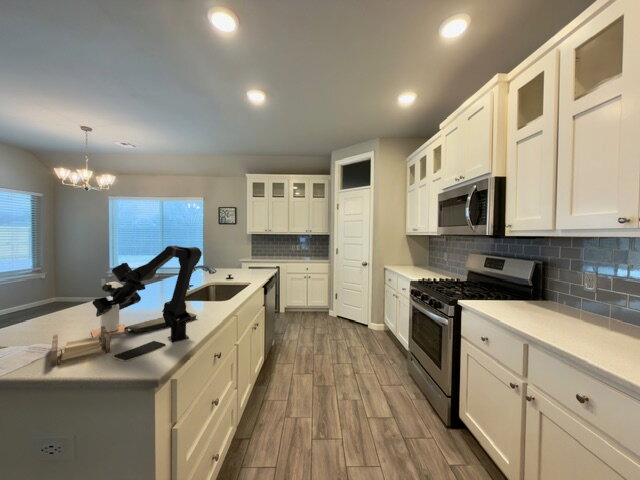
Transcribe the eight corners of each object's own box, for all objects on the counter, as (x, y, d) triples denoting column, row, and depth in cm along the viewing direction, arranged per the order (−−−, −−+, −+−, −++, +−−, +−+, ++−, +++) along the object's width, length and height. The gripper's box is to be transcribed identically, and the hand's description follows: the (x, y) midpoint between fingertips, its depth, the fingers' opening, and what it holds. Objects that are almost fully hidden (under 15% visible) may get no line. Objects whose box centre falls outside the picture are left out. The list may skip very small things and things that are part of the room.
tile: (128, 332, 116) (128, 330, 116) (93, 339, 108) (93, 337, 108) (124, 325, 125) (124, 324, 125) (91, 331, 116) (91, 330, 116)
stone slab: (123, 324, 118) (188, 309, 142) (123, 331, 118) (188, 314, 142) (132, 330, 112) (199, 312, 136) (132, 337, 112) (199, 319, 136)
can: (109, 327, 120) (110, 301, 120) (122, 328, 119) (123, 302, 119) (96, 332, 113) (96, 305, 113) (110, 333, 113) (110, 306, 113)
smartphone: (166, 343, 103) (125, 359, 89) (166, 346, 103) (125, 363, 89) (154, 340, 106) (112, 355, 92) (154, 343, 106) (112, 358, 92)
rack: (110, 352, 96) (110, 339, 96) (51, 366, 86) (51, 351, 85) (104, 337, 110) (104, 325, 110) (53, 348, 99) (53, 335, 99)
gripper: (135, 273, 125) (116, 295, 127) (96, 279, 106) (73, 304, 108) (150, 290, 123) (130, 312, 125) (112, 299, 105) (89, 325, 107)
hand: (107, 312), depth 117 cm, fingers open, 9 cm apart
